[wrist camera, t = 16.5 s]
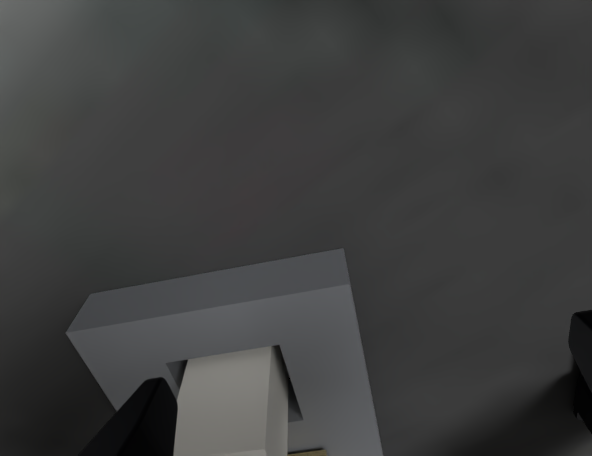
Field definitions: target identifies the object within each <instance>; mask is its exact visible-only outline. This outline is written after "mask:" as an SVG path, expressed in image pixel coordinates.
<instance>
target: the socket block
mask: <svg viewBox="0 0 592 456" xmlns="http://www.w3.org/2000/svg"><path fill="white" fill-rule="evenodd" d="M66 334H67V336H68V337H69V339H70V341H71V342H72V344H73V345H74V347H75V348H76V350H77V351H78V353H79V354H80V356H81V357H82V359H83V361H84V362H85V364H86V365H87V367H88V368H89V370H90V371H91V373H92V374H93V376H94V377H95V379H96V380H97V382H98V384H99V385H100V387H101V388H102V390H103V391H104V393H105V394H106V396H107V397H108V399H109V400H110V402H111V404H112V405H113V407H114V408H115V410H116V411H118V410H119V409H120V408H121V406H122V405H123V404H124V403H125V402H126V401H127V400H128V399H129V397H130V396H131V395H132V394H133V393H134V392H135V391H136V390H137V388H138V387H139V386H140V385H141V384H142V383H143V382H144V381H145V380H147V379H151V378H157V377H163V378H165V379H166V381H167V382H168V384H169V386H170V388H171V390H172V392H173V394H174V396H175V398H176V400H177V398H178V395H179V391H180V387H181V384H182V380H183V376H184V373H185V369H186V365H187V362H188V359H193V358H200V357H206V356H212V355H218V354H225V353H231V352H237V351H243V350H250V349H256V348H262V347H268V346H275V345H280V348H281V351H282V355H283V358H284V361H285V364H286V367H287V370H288V373H289V376H290V379H291V380H288V439H287V455H288V454H296V453H303V452H311V451H319V450H326V452H327V455H328V456H383V451H382V446H381V441H380V436H379V430H378V425H377V420H376V415H375V410H374V404H373V399H372V394H371V389H370V383H369V378H368V373H367V368H366V363H365V357H364V352H363V347H362V342H361V337H360V331H359V326H358V321H357V316H356V311H355V305H354V300H353V295H352V290H351V285H350V279H349V274H348V269H347V264H346V258H345V253H344V248H341V249H336V250H330V251H324V252H319V253H313V254H308V255H302V256H297V257H291V258H286V259H280V260H275V261H269V262H264V263H258V264H253V265H247V266H242V267H236V268H230V269H225V270H219V271H214V272H208V273H203V274H197V275H192V276H186V277H181V278H175V279H170V280H164V281H159V282H153V283H148V284H142V285H136V286H131V287H125V288H120V289H114V290H109V291H103V292H98V293H92V294H90V295H89V297H88V298H87V300H86V301H85V303H84V305H83V306H82V308H81V309H80V311H79V312H78V314H77V316H76V317H75V319H74V320H73V322H72V324H71V325H70V327H69V328H68V330H67V331H66Z"/></svg>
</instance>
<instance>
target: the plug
mask: <svg viewBox="0 0 592 456" xmlns="http://www.w3.org/2000/svg"><path fill="white" fill-rule="evenodd" d="M177 404H178V413H177V423H176V434H175V444H174V454H173V456H287V439H288V370H287V367H286V364H285V361H284V358H283V355H282V351H281V348H280V345H275V346H268V347H262V348H256V349H250V350H243V351H237V352H231V353H225V354H218V355H212V356H206V357H200V358H193V359H188V362H187V365H186V369H185V373H184V376H183V380H182V384H181V387H180V391H179V395H178V398H177Z"/></svg>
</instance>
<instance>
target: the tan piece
mask: <svg viewBox="0 0 592 456" xmlns="http://www.w3.org/2000/svg"><path fill="white" fill-rule="evenodd" d="M287 456H328V455H327V452H326V450H319V451H311V452H303V453H296V454H288V455H287Z"/></svg>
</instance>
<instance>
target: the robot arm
mask: <svg viewBox="0 0 592 456" xmlns="http://www.w3.org/2000/svg"><path fill="white" fill-rule="evenodd" d="M568 342H569V348H570V351H571V353H572V355H573V357H574V359H575V361H576V363H577V365H578V367H579V369H580V374H579V378H578V380H577V386H576V392H575V398H574V411H573V412H574V415H575V416H576V418H577V419H578V420H580V421H584V423H585V424H586V426H587V427H588V429H589V430H590V432H591V434H592V310H588V311H581V312H576V313H574V314H573V315H572V318H571V325H570V332H569V341H568ZM177 413H178V404H177V400H176V398H175V396H174V394H173V392H172V390H171V388H170V386H169V384H168V382H167V381H166V379H165V378H163V377H157V378H151V379H147V380H145V381H144V382H143V383H142V384H141V385H140V386H139V387H138V388H137V390H136V391H135V392H134V393H133V394H132V395H131V396H130V397H129V399H128V400H127V401H126V402H125V403H124V404H123V405H122V406H121V408H120V409H119V410H118V411H117V412H116V413H115V414H114V415H113V417H112V418H111V419H110V420H109V421H108V422H107V423H106V424H105V426H104V427H103V428H102V429H101V430H100V431H99V432H98V433H97V435H96V436H95V437H94V438H93V439H92V440H91V441H90V442H89V443H88V445H87V446H86V447H85V448H84V449H83V450H82V451H81V452H80V454H79V455H78V456H173V454H174V444H175V434H176V423H177Z"/></svg>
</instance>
